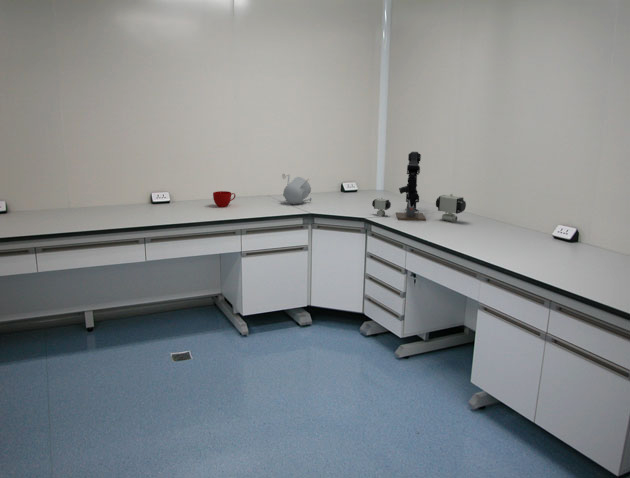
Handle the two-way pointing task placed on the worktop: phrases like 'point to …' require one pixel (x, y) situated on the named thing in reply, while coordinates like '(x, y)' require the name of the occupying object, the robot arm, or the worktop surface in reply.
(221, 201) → the ceramic cup
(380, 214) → the pneumatic valve
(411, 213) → the post stand
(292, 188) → the satellite
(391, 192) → the worktop surface
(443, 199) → the ball valve
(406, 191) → the robot arm
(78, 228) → the worktop surface
